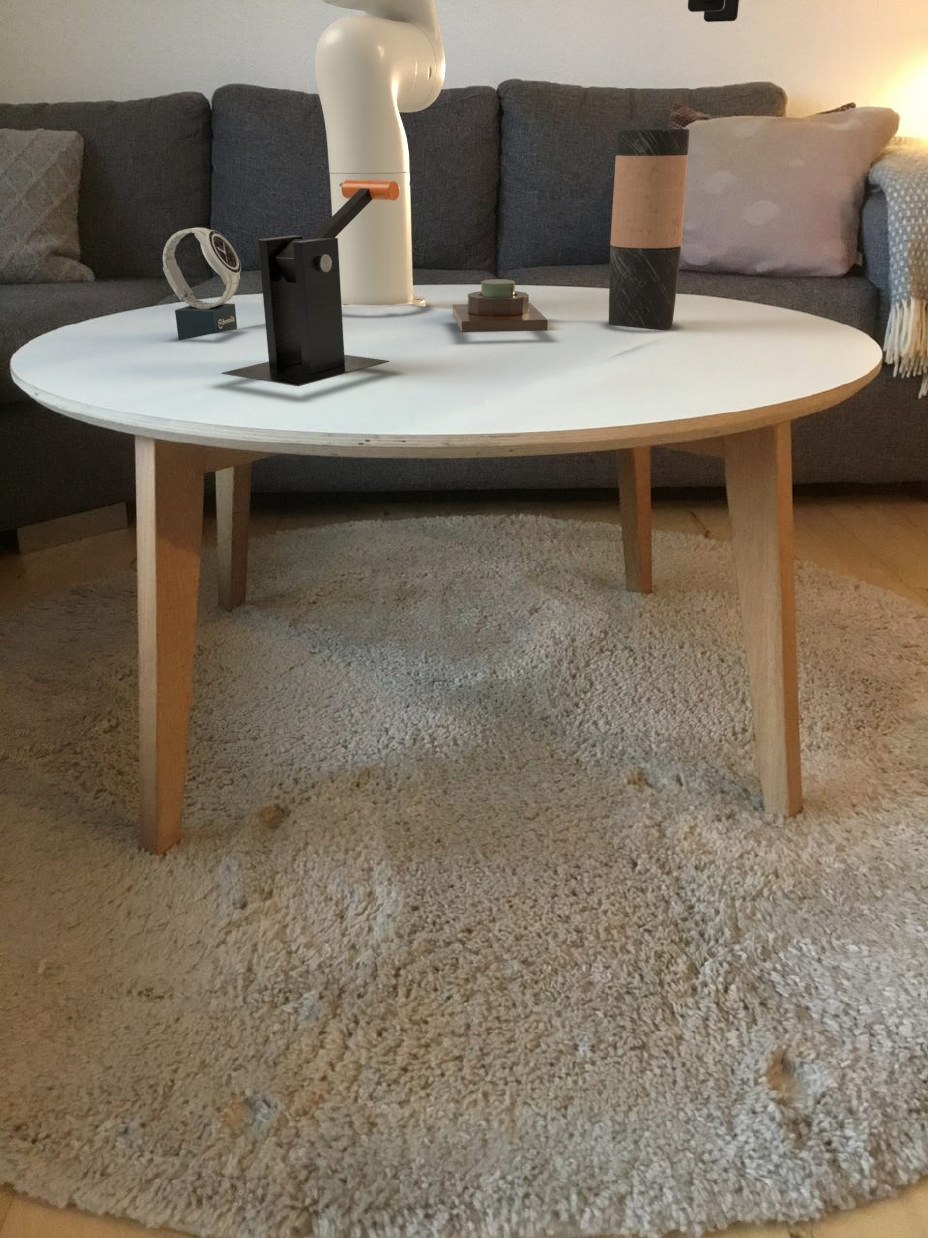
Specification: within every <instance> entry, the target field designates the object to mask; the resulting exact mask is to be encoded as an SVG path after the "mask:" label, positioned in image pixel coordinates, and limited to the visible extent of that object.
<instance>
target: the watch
mask: <svg viewBox="0 0 928 1238" xmlns="http://www.w3.org/2000/svg"><path fill="white" fill-rule="evenodd" d="M190 233H192V234H194V237H195V238H196V239H197V241H199V243H200V249H201V251H202V255H203V256H204V258H205V260H206V261H207V263H208V265H209V266H210V267H211V269H212V270H213V271H214V272H215V273H216V274H217V275H219V276H220V278H221V280H222V283H223V284H224V285H225V290H224V291H223V294H222V296H221V297H220V298H219V299H218V300H217V301H216V302H206V301H203V300H200V299H198V298H196V296H194V291H193V290H192V289H191V287H190V286H189V284H188V283H187V281H186V279H185V277H184V275H183V274H182V273H183V272H182V270H181V269H180V267H179V265H178V263H177V259H176V258H175V253H176V248H177V245H178V244H179V242H181V240H182V239H183V238H184V237H185V236H186V235H188V234H190ZM162 265H163V267H162V271H163V273H164V275H165V278H166V280H167V282H168V284H169V286H170V287H171V289H172V291H173V292H174V294H175V295H176V296H177V298H178V299H179V301H181V302H183V303H185V304H187V305H186V306H184V307H180V308H177V309H175V310H174V313H175V320H176V321H175V323H176V331H177V338H178V341H183V340H187V339H188V340H189V339H195V338H198V337H203V336H208V335H214V334H219V333H224V332H229V331H234V330H235V331H236V330H238V323H237V311H236V303H229V301H230V300H231V299H232V298H233V296H234V295H235V293H236V292H237V290H238V287H239V284H240V280H241V276H240V275H241V274H240V273H241V271H242V264H241V260H240V258H239V255H238V252H237V251H236V249H235V248H234V246H233V245H232V243H231V242H230V241H229V240H228V239H227V237H225V235H223V234H222V233H221V232H219V231H217V230H215V229H214V230H213V229H209V228H207V227H192V228H186V229H185V228H184V229H181V230H178V231H177V232H175V233H173V234H172V235H171V236H170V237H169V238H168V240H167V241H166V243H165V246H164V247H163V252H162ZM227 302H228V303H227Z"/></svg>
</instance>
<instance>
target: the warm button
mask: <svg viewBox="0 0 928 1238" xmlns="http://www.w3.org/2000/svg"><path fill="white" fill-rule="evenodd" d="M480 284H481V287H480V288H481V290H480V291H481V296H484V297H512V296H515V291H516V281H515V280H512V279H504V278H503V279H501V278H498V279H496V278H495V279H484V280H482V281H481V282H480Z"/></svg>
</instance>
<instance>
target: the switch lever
mask: <svg viewBox="0 0 928 1238" xmlns="http://www.w3.org/2000/svg"><path fill="white" fill-rule="evenodd" d="M341 190H342V194H343V196H344V197H345V198H346V199H349V200H348V201H347V202H346V203H345V204H344V205H343V206H342V207H341V208H340V209H339V210H338V211H337V212H336V213H335V214H334V215H333V216H332V215H331V217H330V218H329V219H328V220H327V221H326V222H325V223H324V224H323V225H322V226H321V227H320V228H319V229H318V230H317V231H316V232H315V233H314V234H313V235H312V236H311V237H310V238H309V239H308V240H312V239H321V238H335V237H336V236H337V235H338V234H339V233H340V232H341V231H342V230H343V229H344V228H345V227H346V226H347V225H348V224H349V223H350V222H351V221H352V220H353V219H354V218H355V217H356V216H357V215H358V214H359V213H360V212H361V211H362V210H363V209H364V208H365V207H366V206H367V205H368V204H369V203H370V202H371V201H372V200H396V199H397V198H398V196H399V192H400V190H399V185H398V184H397V182H395V181H365V180H346V181H344V182H343V184H342V188H341ZM303 240H304V239H303ZM303 240H302V239H294V240H293V241H292V242H291V243H290V244H289V245H288V246H287V247H286V248H285V249H284V250H283V251H282V252H281V253H280V254H278V255H277V256H276V260H277V262H278V265H279V267H280V269H281V271H282V273H283V276H284V278H285V280H286V282H291V283H296V273H295V260H294V246H293V242H295V241H303Z"/></svg>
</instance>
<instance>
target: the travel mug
mask: <svg viewBox="0 0 928 1238" xmlns="http://www.w3.org/2000/svg"><path fill="white" fill-rule="evenodd" d="M689 144H690V129H689V128H637V129H633V128H631V129H629V128H628V129H627V128H625V129H617V132H616V146H615V160H614V164H615V165H614V179H613V196H612V210H611V211H612V213H611V229H610V243H609V244H610V249H609V282H608V283H609V284H608V285H609V287H608V289H609V290H608V326H613V327H626V328H635V329H645V330H654V331H666V330H669V329H672V327H673V323H674V316H675V315H674V314H675V308H676V299H677V298H676V297H677V290H678V279H679V271H680V263H681V262H680V261H681V253H682V244H683V243H682V242H683V229H684V227H683V226H684V216H685V215H684V213H685V203H686V202H685V201H686V187H687V175H688V174H687V173H688V159H689V148H690V147H689Z"/></svg>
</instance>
